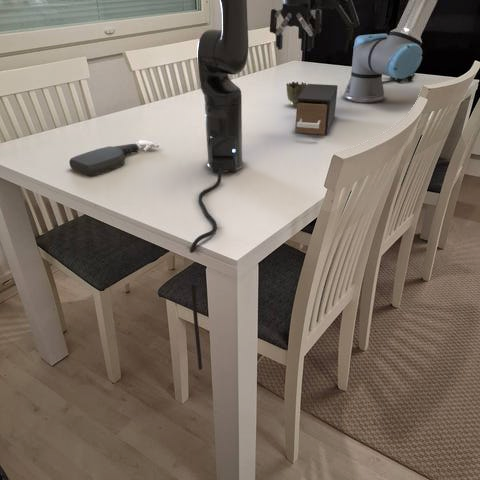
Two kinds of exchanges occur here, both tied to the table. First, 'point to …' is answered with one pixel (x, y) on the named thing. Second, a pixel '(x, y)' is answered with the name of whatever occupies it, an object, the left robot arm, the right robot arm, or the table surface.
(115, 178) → the table surface
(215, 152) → the left robot arm
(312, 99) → the cabinet
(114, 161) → the spray bottle
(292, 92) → the cup
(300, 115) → the drawer
